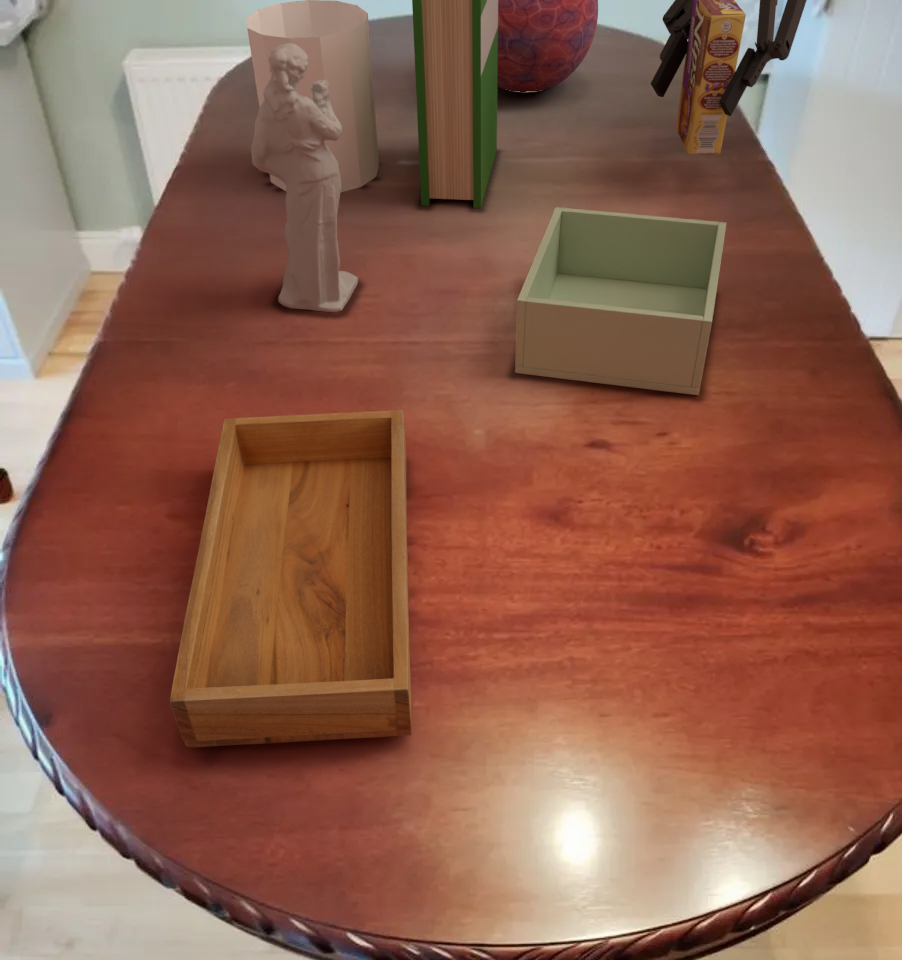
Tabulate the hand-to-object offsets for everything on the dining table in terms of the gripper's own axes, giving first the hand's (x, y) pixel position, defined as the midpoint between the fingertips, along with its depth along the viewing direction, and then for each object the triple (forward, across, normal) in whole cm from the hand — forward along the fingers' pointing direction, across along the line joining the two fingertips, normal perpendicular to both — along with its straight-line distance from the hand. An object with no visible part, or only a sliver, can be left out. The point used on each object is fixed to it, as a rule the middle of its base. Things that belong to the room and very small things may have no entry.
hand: (690, 99), depth 117 cm
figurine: (+41, +15, +26) cm, 50 cm away
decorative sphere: (-2, +37, -17) cm, 41 cm away
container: (+26, +38, +11) cm, 47 cm away
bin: (+30, -15, +15) cm, 37 cm away
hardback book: (+18, +23, +3) cm, 30 cm away
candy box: (+2, 0, -6) cm, 7 cm away
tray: (+62, -19, +47) cm, 80 cm away
